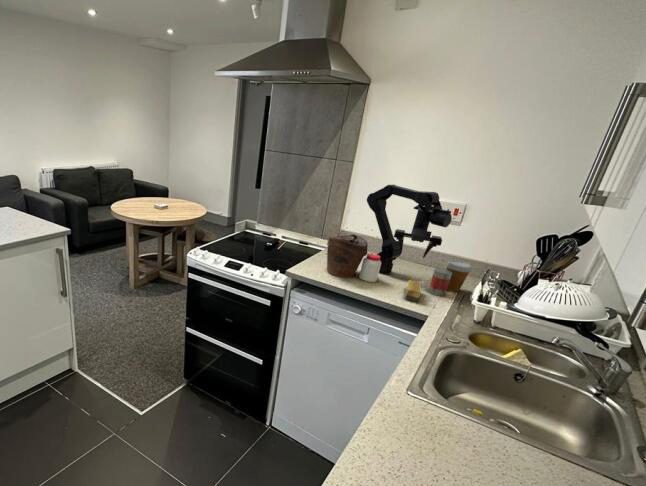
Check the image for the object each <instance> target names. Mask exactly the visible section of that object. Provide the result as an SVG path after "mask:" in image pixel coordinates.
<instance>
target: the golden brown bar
mask: <svg viewBox="0 0 646 486" xmlns="http://www.w3.org/2000/svg"><path fill="white" fill-rule="evenodd" d="M421 286H422V285H421V281H416V280H413V279H412V280H411V279H409V280H408V283H407V285H406V289H405V295H404V300H406V301H410V302H414V303H418V301H419V297H420V295H421Z"/></svg>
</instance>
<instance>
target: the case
mask: <svg viewBox="0 0 646 486" xmlns="http://www.w3.org/2000/svg"><path fill="white" fill-rule="evenodd" d="M326 246H327V250H326V254H325V256H326V271H327V273H329V274H331V275H334V276H337V277H341V278H352V277H353V278H354V277H355V276H356V273H357V271H358V269H359V267H360V264H361V263H362V262H363V259H364V258H365V257H367V254H368V241H367V240H366V239H365V238H363V237H362V236H361V235H357V234H345V235H337V236H329V237H328V240H327V243H326Z"/></svg>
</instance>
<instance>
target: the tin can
mask: <svg viewBox="0 0 646 486" xmlns="http://www.w3.org/2000/svg"><path fill="white" fill-rule="evenodd" d="M446 269H447V268H438V267H437V268H434V269H433V270H434V271H433V274H432V276H431V279H430V283H429V285H428V289H427V292H428V293H430V294H431V295H435V296H439V297H443V296H445V295H446V293H447V291H448V290H447V288H448V285H449V282H450V279H451V276H452V272H451V271H449V270H446Z"/></svg>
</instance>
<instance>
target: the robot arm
mask: <svg viewBox="0 0 646 486" xmlns="http://www.w3.org/2000/svg"><path fill="white" fill-rule="evenodd" d="M392 196H397V197H401V198H405V199H407V200H411V201H413V202H415V203H416V204H417V205H416V206H413V209H414V210H417V212H416V216H415V219H414V223H413V226H412V230H411V233H409V232H406V230H404V229H399V228H397V229H395V231H394V234H393V230H392V228H391V223H390V220H389V217H388V214H387V210H386V208H387V204H388V203H387V200H389V199H390V198H391V197H392ZM366 204H367V205H368V207H369V209H370V210H371V211H372V212H373V213H374V216H375V219H376V222H377V223H376V224H377V226H378V230H379V233H380V236H381V240H382V244H381V247H380V248H381V251H380V252H378V253H375V254H376V255H379V256H380V261H381V267H380V271H379V274H383V275H390V274H391V273H392V270H393V268H394V261H396V260H397V258H399V257H400V256H401V255H402V253H403V247H404V241H405V238H409V239H410V240H411V242H419V243H424V242H428V244H427V246H426V248H425V250H424V252H423V254H422V259H424V258H425V257H426V256H427V255H428V253H429V252H430V251H431V250H432V249H434V248H437V246H439V247H440V246H442V243H443V238H442V236H440V235H439V236H438V235H433V234H432V231H430V230H428V229H429V226H430V224H431V225H434V226H438V227H442V228H448V227H449V226H450V224H451V223H452V220H453V219H452V217H453V216H452V211H451V210H448V209H447V210H446V209H443V206H442V203H441V201H440V195H439V192H436V191H426V190H425V191H420V190H415V189H412V188H408V187H407V188H406V187H404V186H400V185H396V184H387V185H385V186H383V187H382V188H380V189H378V190H376V191H374V192H371V193H369V194H368V195H367V198H366Z"/></svg>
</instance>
